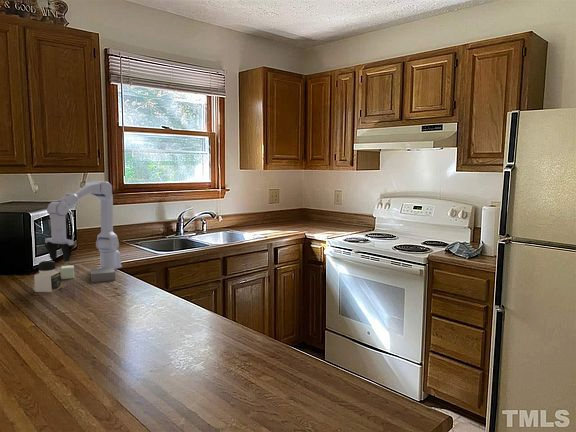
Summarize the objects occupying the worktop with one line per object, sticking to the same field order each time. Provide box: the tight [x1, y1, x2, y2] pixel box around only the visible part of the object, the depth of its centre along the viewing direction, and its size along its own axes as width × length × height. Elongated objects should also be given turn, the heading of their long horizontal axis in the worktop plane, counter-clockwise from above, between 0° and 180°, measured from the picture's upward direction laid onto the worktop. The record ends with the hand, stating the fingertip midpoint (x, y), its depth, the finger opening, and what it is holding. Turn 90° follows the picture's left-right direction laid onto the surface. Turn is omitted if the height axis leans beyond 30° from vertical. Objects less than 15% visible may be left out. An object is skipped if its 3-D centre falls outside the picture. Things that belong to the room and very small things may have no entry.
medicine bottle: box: [33, 260, 62, 293], centre depth 182 cm, size 7×7×12 cm
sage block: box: [60, 265, 75, 280], centre depth 203 cm, size 5×5×5 cm
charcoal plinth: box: [90, 267, 116, 283], centre depth 202 cm, size 10×10×4 cm
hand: (60, 260), depth 193 cm, fingers open, 7 cm apart
